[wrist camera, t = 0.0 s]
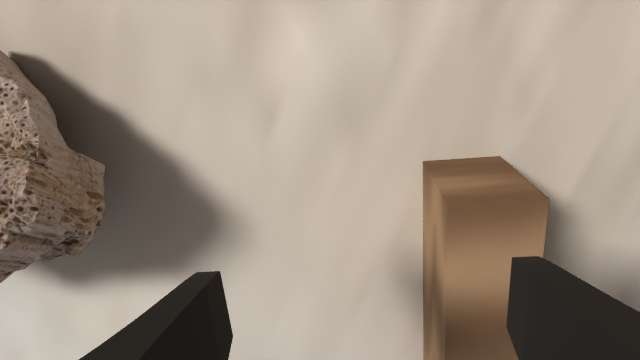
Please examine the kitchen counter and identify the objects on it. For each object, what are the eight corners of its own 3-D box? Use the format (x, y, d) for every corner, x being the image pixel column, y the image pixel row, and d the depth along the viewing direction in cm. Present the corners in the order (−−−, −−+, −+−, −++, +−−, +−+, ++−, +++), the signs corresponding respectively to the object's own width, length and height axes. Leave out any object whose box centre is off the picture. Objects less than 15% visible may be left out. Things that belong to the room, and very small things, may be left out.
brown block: (485, 370, 24) (520, 456, 19) (423, 372, 24) (442, 457, 19) (499, 156, 19) (549, 199, 15) (422, 161, 20) (447, 204, 15)
